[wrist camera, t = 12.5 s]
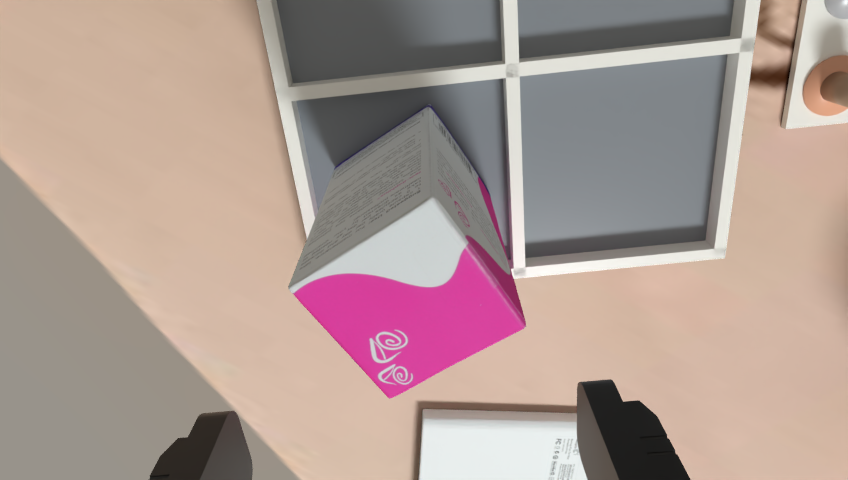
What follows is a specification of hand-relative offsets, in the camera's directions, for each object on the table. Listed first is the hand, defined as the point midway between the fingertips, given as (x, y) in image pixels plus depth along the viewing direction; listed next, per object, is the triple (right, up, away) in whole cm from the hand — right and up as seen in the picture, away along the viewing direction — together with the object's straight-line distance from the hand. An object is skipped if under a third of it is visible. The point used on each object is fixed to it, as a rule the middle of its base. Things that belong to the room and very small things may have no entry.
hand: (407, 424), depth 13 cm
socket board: (+4, +13, +13) cm, 19 cm away
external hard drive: (+6, -10, +25) cm, 28 cm away
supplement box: (0, +7, +15) cm, 17 cm away
